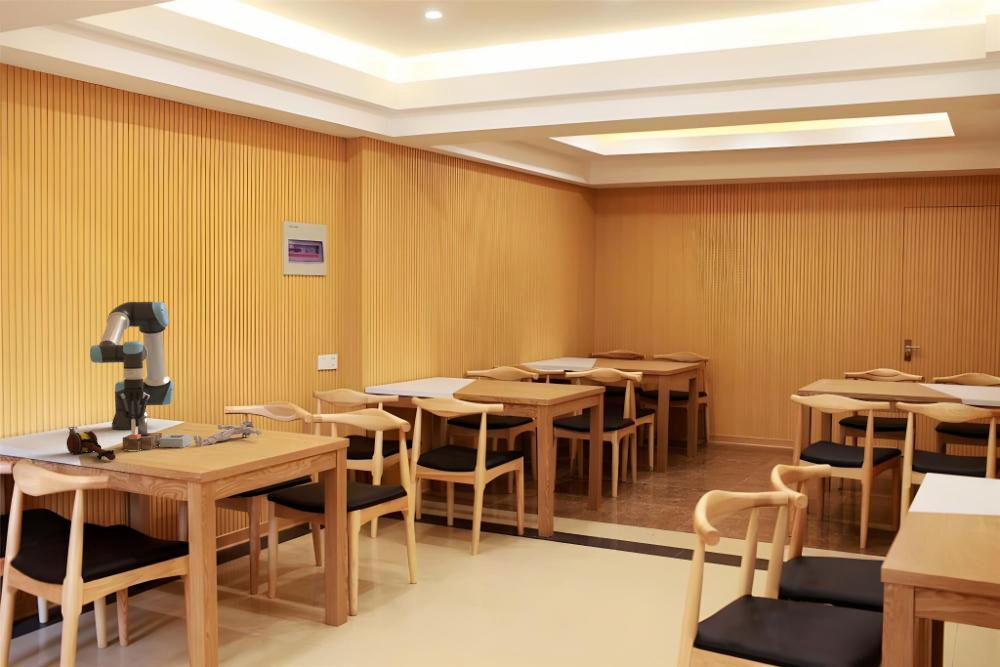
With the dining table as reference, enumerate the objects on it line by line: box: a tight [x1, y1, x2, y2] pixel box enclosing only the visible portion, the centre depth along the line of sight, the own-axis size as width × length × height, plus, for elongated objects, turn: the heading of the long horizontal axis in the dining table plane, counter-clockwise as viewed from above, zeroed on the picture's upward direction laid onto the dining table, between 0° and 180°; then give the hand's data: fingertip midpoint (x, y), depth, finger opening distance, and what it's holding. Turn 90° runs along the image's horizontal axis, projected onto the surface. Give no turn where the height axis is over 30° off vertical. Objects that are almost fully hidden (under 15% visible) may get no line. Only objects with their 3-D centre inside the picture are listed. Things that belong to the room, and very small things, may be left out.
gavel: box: [66, 426, 116, 461], centre depth 362 cm, size 10×34×10 cm
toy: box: [193, 420, 262, 447], centre depth 397 cm, size 28×8×30 cm
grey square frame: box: [159, 434, 192, 449], centre depth 385 cm, size 10×10×4 cm
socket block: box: [122, 432, 163, 451], centre depth 380 cm, size 16×12×5 cm
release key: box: [129, 434, 141, 442], centre depth 374 cm, size 4×4×6 cm
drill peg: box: [138, 411, 149, 437], centre depth 382 cm, size 4×4×15 cm
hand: (134, 434), depth 374 cm, fingers closed
